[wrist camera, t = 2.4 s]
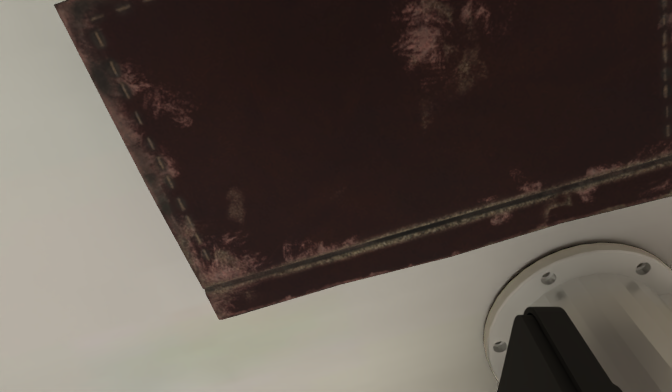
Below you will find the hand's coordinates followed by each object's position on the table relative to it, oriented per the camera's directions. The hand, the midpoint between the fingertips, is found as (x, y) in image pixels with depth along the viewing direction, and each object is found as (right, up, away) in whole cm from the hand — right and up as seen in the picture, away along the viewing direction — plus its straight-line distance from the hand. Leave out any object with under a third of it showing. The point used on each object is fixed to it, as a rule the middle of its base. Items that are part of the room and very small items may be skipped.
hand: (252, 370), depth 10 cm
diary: (+4, +9, +20) cm, 22 cm away
